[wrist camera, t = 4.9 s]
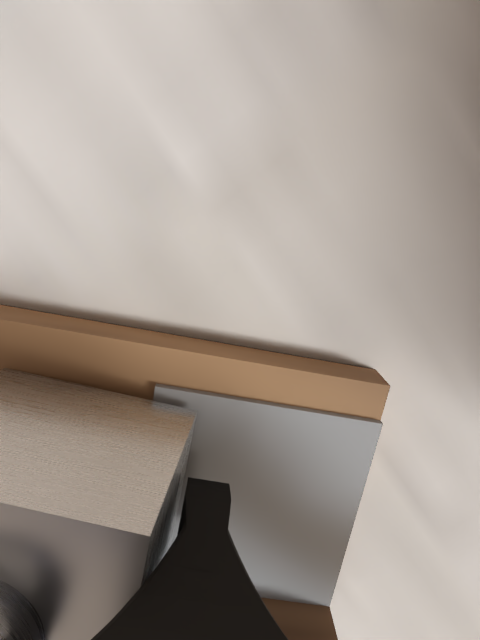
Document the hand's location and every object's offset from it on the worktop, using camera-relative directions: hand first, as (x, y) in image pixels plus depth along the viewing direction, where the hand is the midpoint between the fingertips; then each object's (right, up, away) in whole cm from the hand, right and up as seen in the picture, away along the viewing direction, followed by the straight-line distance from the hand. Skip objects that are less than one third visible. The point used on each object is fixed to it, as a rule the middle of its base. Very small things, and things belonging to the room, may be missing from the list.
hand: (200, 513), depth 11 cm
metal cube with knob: (-3, +1, +1) cm, 3 cm away
